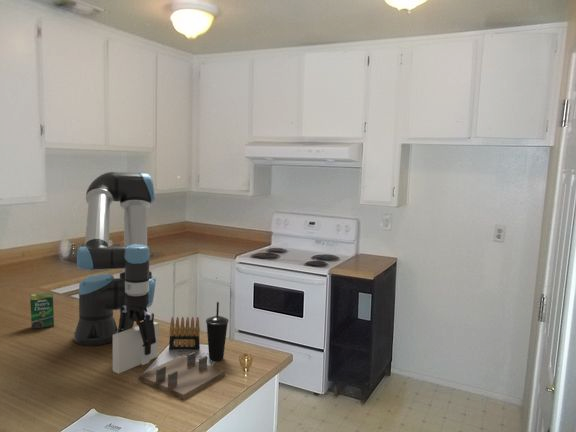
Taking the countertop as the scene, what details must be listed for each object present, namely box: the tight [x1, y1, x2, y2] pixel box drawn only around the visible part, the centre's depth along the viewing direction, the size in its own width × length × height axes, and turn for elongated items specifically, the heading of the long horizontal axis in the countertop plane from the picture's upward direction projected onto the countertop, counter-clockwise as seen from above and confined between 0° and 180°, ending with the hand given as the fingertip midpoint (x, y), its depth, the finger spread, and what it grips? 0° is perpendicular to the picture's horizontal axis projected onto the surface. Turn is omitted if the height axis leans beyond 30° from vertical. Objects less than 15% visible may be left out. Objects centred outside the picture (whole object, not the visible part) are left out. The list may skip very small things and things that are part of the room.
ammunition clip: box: [168, 316, 201, 351], centre depth 163 cm, size 11×2×12 cm, turn 97°
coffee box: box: [29, 292, 55, 330], centre depth 177 cm, size 8×3×13 cm, turn 116°
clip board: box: [138, 351, 226, 400], centre depth 142 cm, size 19×18×5 cm
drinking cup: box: [205, 301, 229, 362], centre depth 156 cm, size 8×8×20 cm
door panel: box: [112, 321, 159, 374], centre depth 150 cm, size 3×16×12 cm, turn 148°
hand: (136, 359), depth 150 cm, fingers open, 8 cm apart
